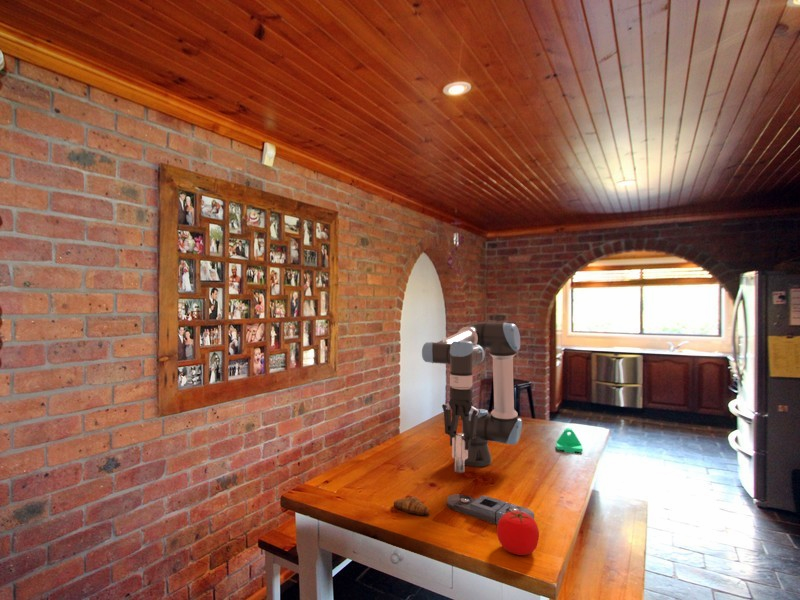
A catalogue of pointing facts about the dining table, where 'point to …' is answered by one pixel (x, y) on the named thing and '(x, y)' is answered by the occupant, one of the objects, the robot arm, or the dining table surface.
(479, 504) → the chain end
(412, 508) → the croissant
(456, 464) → the steel pin
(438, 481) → the dining table surface
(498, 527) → the tomato
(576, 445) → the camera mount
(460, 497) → the chain end
